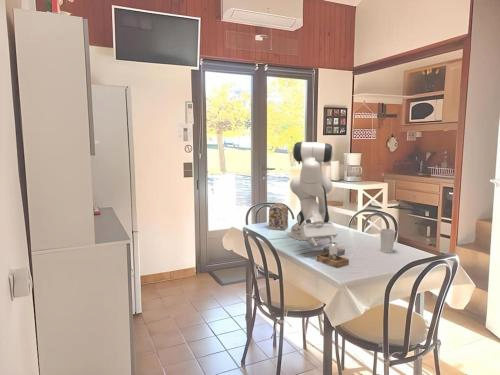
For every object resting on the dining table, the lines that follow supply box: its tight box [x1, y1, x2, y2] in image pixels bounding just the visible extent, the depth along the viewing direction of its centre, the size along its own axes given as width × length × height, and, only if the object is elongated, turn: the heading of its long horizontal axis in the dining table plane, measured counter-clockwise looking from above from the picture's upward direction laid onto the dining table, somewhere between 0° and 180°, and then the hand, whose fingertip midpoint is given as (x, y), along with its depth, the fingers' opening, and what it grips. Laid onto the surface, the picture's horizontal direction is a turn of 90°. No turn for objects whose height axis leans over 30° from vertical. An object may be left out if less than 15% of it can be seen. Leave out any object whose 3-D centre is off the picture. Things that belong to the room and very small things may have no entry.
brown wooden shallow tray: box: [316, 252, 350, 269], centre depth 188 cm, size 14×9×3 cm, turn 37°
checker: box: [322, 246, 346, 256], centre depth 204 cm, size 9×7×3 cm
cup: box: [379, 228, 397, 254], centre depth 208 cm, size 8×8×12 cm
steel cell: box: [328, 241, 338, 261], centre depth 188 cm, size 4×4×10 cm
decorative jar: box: [268, 202, 289, 231], centre depth 260 cm, size 12×12×18 cm
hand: (324, 245), depth 195 cm, fingers open, 8 cm apart
